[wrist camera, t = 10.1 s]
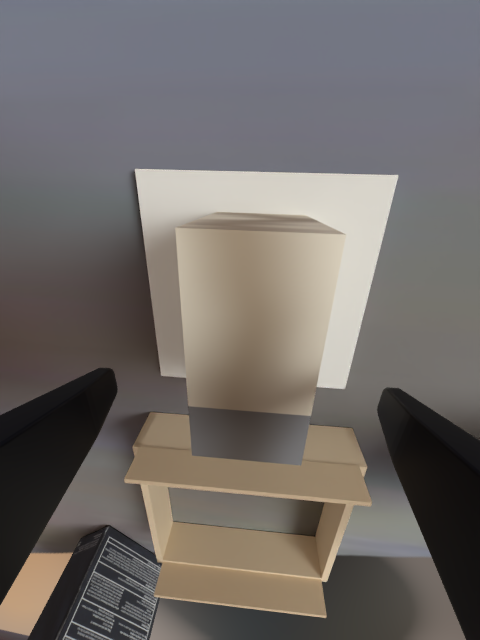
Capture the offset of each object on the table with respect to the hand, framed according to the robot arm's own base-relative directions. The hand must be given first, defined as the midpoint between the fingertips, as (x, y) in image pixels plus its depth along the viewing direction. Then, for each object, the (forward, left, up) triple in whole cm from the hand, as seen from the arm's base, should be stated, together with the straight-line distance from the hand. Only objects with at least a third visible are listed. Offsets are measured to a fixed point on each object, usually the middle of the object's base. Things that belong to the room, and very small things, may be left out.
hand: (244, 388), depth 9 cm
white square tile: (0, 0, -10) cm, 10 cm away
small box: (+15, +36, -10) cm, 40 cm away
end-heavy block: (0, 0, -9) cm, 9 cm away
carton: (0, +20, -10) cm, 22 cm away
